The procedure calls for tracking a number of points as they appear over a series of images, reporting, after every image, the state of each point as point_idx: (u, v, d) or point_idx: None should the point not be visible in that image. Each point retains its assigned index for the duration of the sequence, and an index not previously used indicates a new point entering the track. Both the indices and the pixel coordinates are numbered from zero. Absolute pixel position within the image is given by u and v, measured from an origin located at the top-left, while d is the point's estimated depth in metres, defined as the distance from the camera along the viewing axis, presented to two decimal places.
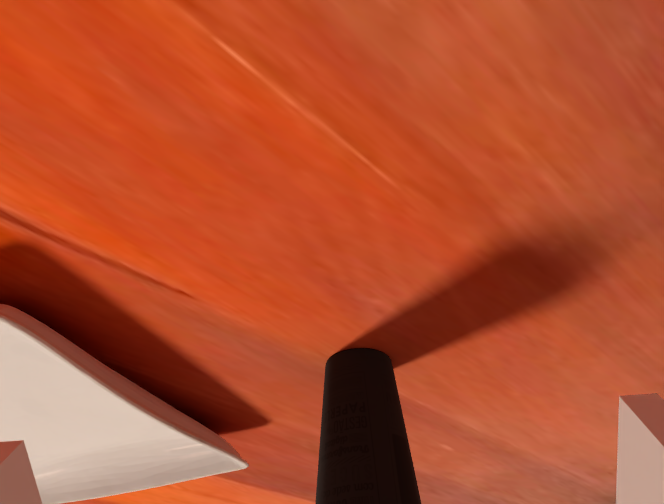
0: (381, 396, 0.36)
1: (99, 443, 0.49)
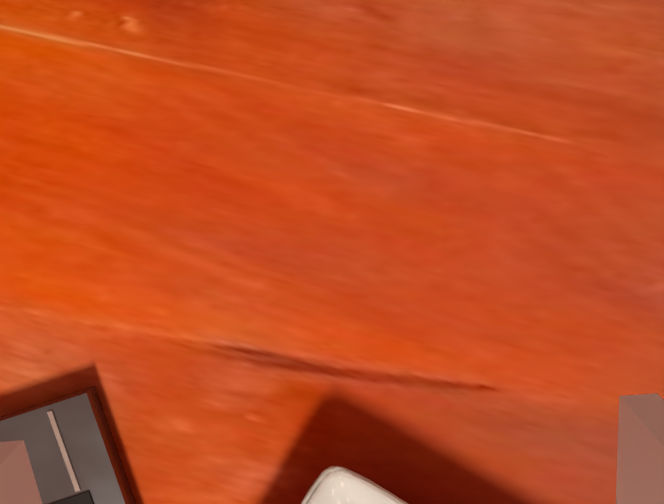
0: None
1: None
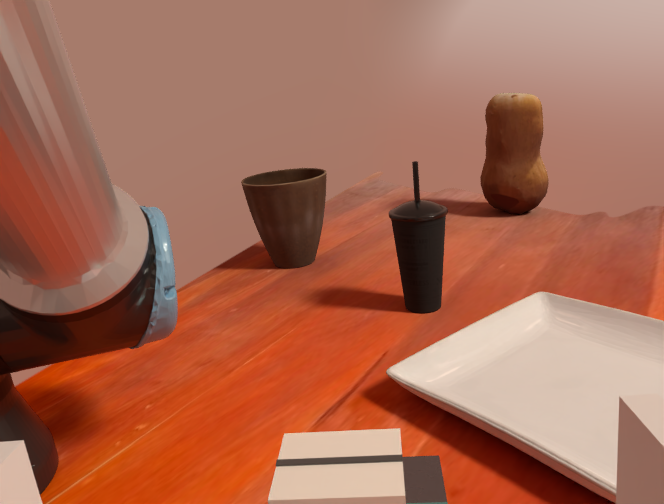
0: None
1: (614, 355, 0.58)
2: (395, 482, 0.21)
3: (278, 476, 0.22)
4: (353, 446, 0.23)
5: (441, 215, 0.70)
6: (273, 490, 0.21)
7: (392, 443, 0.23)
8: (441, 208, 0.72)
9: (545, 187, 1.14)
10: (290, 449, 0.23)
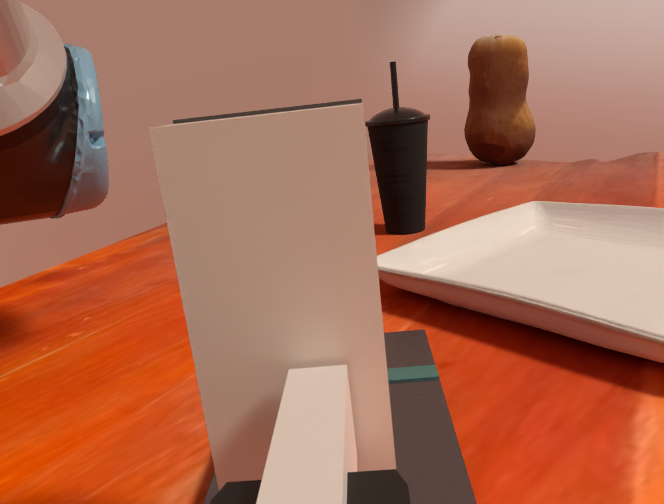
0: None
1: (621, 247, 0.51)
2: None
3: (173, 124, 0.14)
4: None
5: (423, 118, 0.63)
6: (161, 126, 0.13)
7: None
8: (422, 113, 0.65)
9: (532, 134, 1.09)
10: None
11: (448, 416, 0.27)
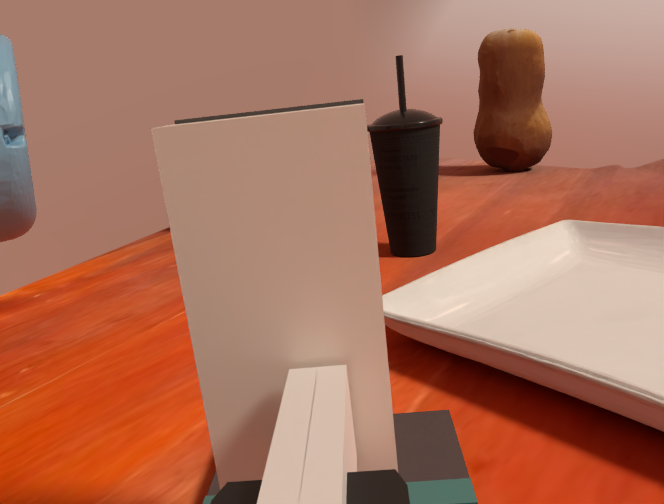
0: None
1: None
2: (350, 105, 0.13)
3: (175, 124, 0.14)
4: None
5: (434, 122, 0.54)
6: (163, 126, 0.13)
7: None
8: (434, 116, 0.55)
9: (549, 138, 0.99)
10: None
11: None
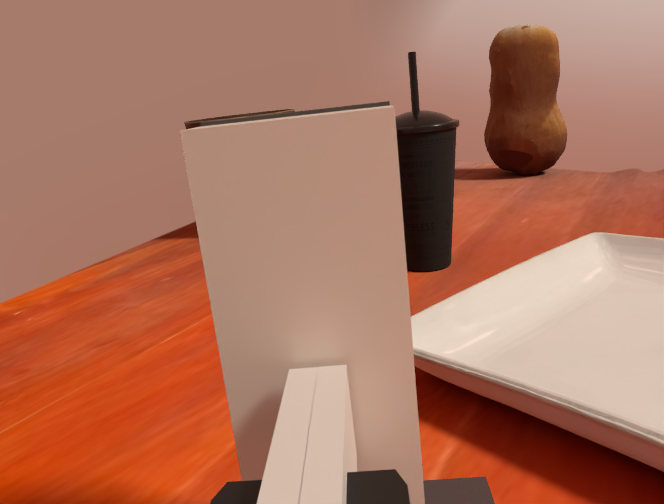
0: None
1: None
2: (378, 108, 0.13)
3: None
4: None
5: (451, 125, 0.49)
6: (191, 128, 0.13)
7: None
8: (450, 118, 0.50)
9: (564, 140, 0.94)
10: None
11: None
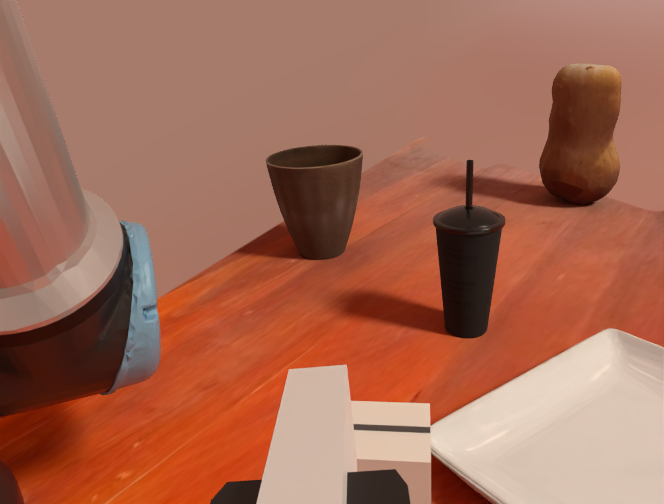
0: (442, 298, 0.65)
1: None
2: (422, 451, 0.24)
3: None
4: (388, 416, 0.27)
5: (497, 228, 0.58)
6: None
7: (422, 416, 0.27)
8: (497, 218, 0.59)
9: (615, 176, 0.99)
10: None
11: None
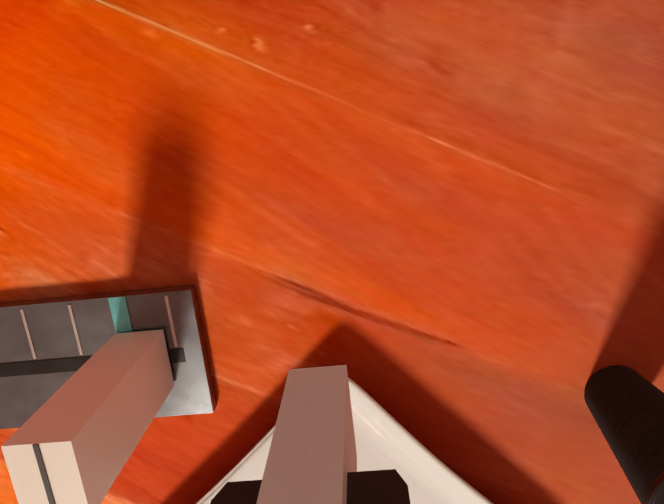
0: (641, 384, 0.42)
1: None
2: None
3: (23, 447, 0.30)
4: (65, 489, 0.31)
5: None
6: (10, 447, 0.31)
7: None
8: None
9: None
10: (53, 449, 0.30)
11: None
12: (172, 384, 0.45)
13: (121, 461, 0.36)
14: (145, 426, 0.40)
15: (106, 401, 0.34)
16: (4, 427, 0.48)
